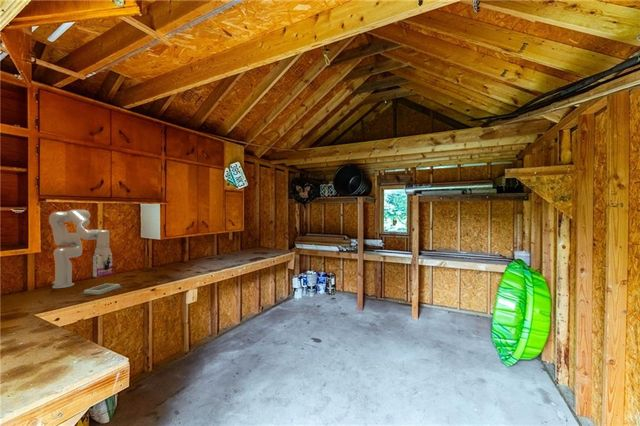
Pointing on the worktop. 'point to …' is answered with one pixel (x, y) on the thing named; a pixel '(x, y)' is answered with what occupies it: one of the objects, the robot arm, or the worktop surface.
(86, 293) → the rubber mat
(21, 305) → the worktop surface
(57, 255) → the robot arm
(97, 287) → the light blue tray
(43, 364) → the worktop surface
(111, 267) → the candy bar box
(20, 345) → the worktop surface
